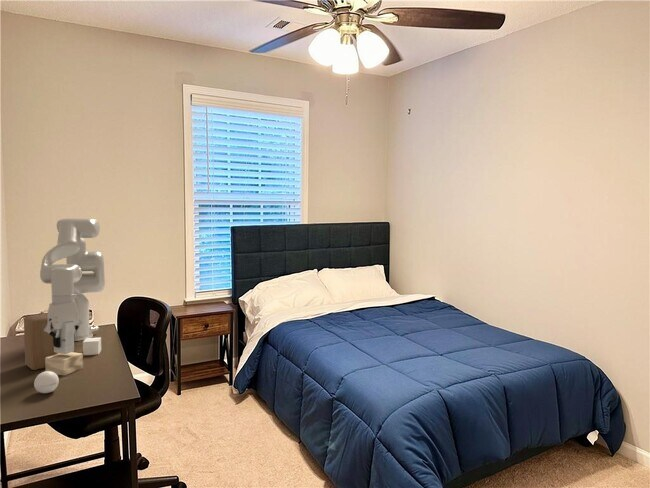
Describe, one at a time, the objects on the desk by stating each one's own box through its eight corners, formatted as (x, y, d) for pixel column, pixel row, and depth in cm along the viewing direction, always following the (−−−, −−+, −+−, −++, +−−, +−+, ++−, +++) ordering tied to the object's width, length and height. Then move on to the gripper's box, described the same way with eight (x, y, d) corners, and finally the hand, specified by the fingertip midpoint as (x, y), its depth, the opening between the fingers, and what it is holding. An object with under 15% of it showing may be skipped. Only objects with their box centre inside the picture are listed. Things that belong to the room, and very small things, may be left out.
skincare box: (53, 352, 177) (52, 321, 176) (63, 349, 181) (62, 319, 180) (65, 354, 175) (64, 323, 174) (75, 351, 179) (74, 320, 178)
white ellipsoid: (32, 398, 152) (31, 376, 151) (36, 390, 158) (35, 369, 158) (66, 394, 156) (66, 372, 155) (69, 386, 162) (68, 366, 162)
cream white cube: (98, 354, 198) (98, 341, 198) (83, 355, 197) (82, 341, 196) (101, 350, 204) (101, 337, 204) (86, 351, 203) (86, 338, 202)
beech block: (65, 365, 184) (64, 351, 183) (83, 368, 181) (82, 353, 181) (45, 373, 175) (45, 357, 175) (64, 376, 173) (63, 360, 172)
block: (24, 365, 183) (23, 315, 182) (52, 359, 191) (51, 312, 189) (31, 371, 176) (30, 320, 175) (60, 365, 184) (59, 316, 182)
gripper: (78, 294, 186) (79, 338, 187) (34, 301, 171) (36, 349, 172) (89, 296, 182) (90, 341, 183) (46, 303, 167) (47, 352, 169)
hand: (64, 344), depth 178 cm, fingers closed on skincare box, 4 cm apart
